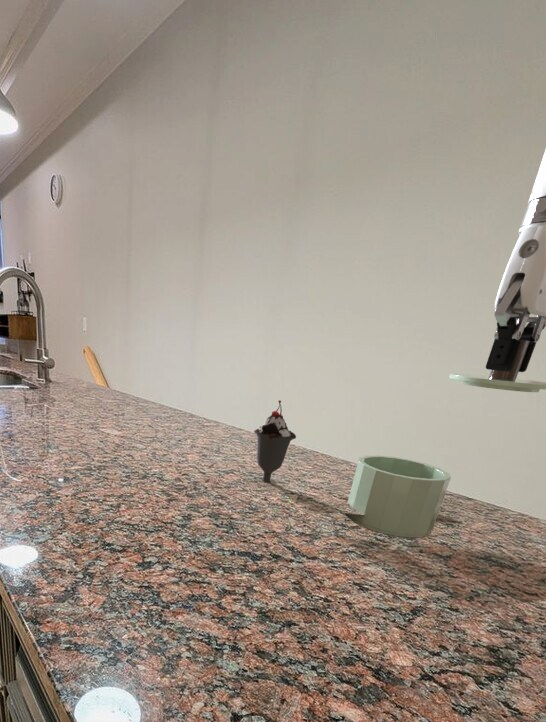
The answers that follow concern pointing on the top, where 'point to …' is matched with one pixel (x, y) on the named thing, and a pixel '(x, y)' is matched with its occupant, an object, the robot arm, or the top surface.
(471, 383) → the lid
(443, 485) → the canister
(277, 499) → the top surface
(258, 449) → the sundae
